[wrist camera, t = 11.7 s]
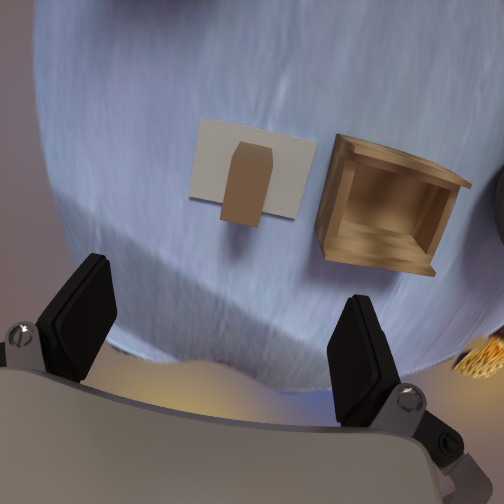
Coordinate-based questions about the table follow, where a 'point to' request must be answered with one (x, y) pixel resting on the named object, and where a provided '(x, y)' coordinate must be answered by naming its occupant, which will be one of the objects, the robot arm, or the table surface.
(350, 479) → the robot arm
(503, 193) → the bowl
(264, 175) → the lid
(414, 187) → the box
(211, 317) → the table surface
